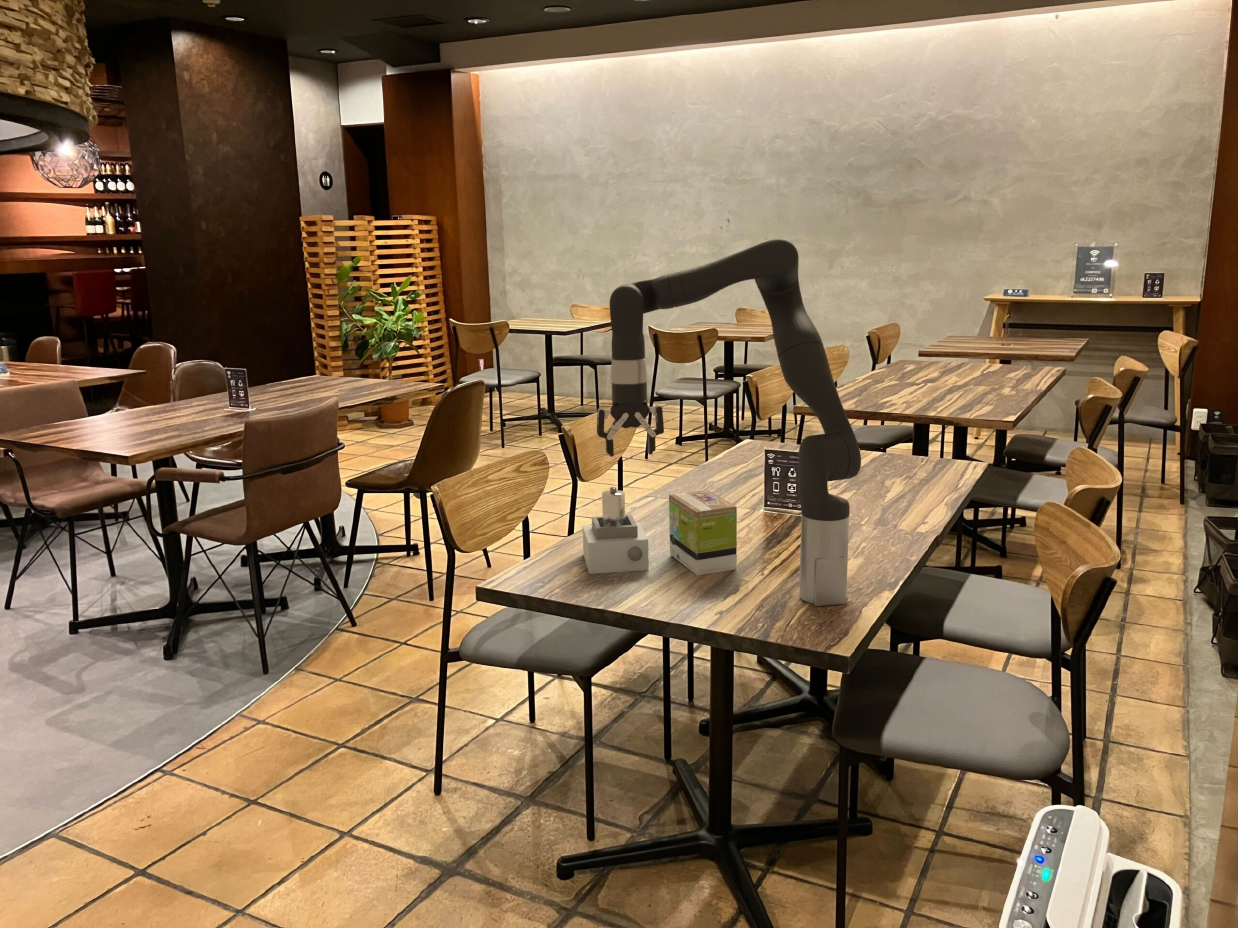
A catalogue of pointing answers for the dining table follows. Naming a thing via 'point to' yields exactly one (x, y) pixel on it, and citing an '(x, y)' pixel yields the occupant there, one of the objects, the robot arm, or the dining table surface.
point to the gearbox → (615, 547)
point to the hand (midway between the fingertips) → (631, 455)
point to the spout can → (613, 507)
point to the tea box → (703, 532)
